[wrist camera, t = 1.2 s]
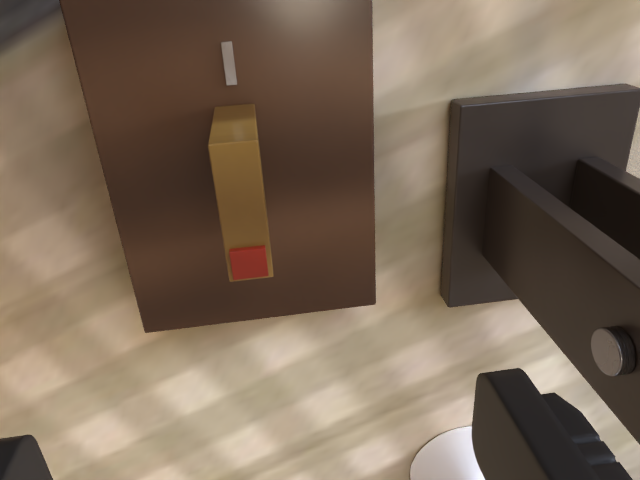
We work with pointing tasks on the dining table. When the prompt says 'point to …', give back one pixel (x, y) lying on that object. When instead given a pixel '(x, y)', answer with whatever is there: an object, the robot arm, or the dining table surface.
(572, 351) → the handle bracket
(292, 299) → the plate
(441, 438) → the champagne flute
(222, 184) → the bar
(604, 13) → the dining table surface
